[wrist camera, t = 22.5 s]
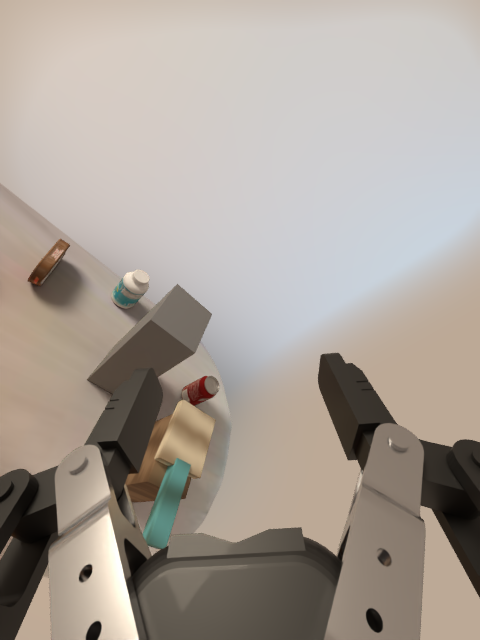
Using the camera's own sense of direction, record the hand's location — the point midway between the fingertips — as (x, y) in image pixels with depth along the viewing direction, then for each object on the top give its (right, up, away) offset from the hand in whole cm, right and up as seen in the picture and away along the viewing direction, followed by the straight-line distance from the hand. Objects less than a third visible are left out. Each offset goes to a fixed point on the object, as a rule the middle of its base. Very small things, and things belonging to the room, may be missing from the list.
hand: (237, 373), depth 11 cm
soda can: (-17, -23, +64) cm, 70 cm away
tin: (-52, +16, +51) cm, 75 cm away
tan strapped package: (-12, -24, +31) cm, 40 cm away
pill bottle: (-38, +9, +64) cm, 75 cm away
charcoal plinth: (-33, -12, +52) cm, 63 cm away
